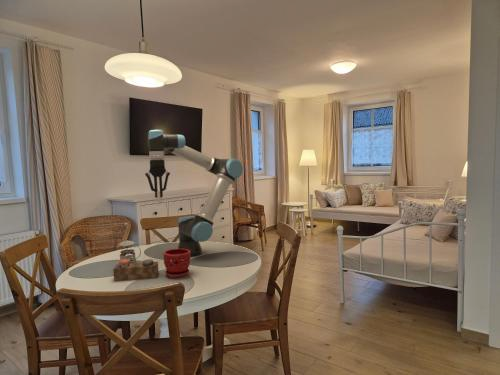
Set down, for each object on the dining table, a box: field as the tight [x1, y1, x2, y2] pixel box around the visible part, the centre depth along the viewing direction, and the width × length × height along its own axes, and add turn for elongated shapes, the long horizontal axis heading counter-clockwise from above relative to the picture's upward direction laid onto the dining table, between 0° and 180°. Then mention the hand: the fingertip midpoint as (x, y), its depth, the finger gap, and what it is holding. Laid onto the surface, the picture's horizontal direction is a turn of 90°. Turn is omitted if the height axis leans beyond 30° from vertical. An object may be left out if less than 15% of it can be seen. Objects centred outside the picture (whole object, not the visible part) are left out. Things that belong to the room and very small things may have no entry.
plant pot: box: [163, 248, 192, 278], centre depth 160 cm, size 13×13×12 cm
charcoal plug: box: [141, 258, 154, 266], centre depth 159 cm, size 5×5×7 cm
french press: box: [118, 222, 142, 264], centre depth 171 cm, size 10×12×25 cm
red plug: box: [118, 258, 130, 267], centre depth 157 cm, size 5×5×7 cm
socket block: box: [112, 261, 159, 282], centre depth 158 cm, size 20×7×6 cm, turn 100°
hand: (159, 203), depth 171 cm, fingers closed
